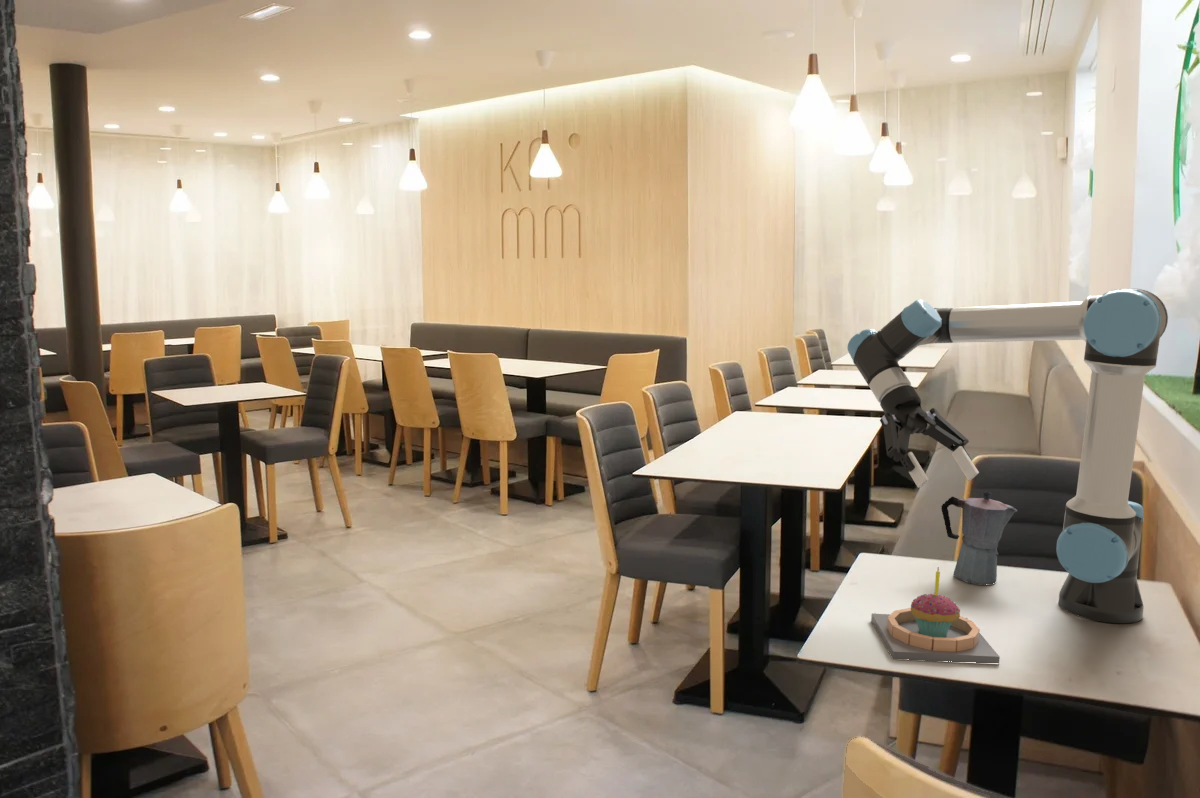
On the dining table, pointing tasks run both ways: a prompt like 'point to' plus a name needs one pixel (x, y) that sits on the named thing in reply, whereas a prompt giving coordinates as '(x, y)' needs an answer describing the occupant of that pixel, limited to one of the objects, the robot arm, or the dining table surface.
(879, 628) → the ring dish
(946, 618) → the cupcake
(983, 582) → the moka pot
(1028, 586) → the dining table surface
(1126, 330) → the robot arm
